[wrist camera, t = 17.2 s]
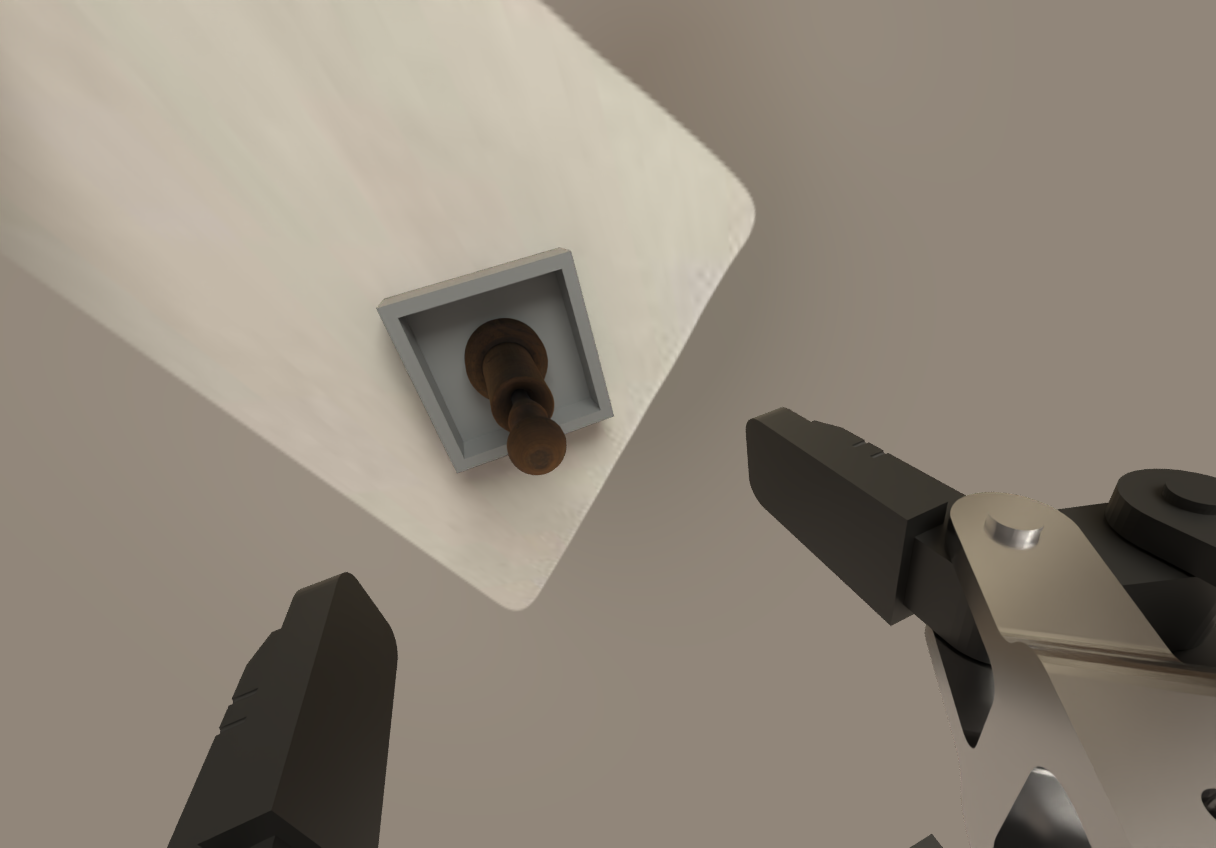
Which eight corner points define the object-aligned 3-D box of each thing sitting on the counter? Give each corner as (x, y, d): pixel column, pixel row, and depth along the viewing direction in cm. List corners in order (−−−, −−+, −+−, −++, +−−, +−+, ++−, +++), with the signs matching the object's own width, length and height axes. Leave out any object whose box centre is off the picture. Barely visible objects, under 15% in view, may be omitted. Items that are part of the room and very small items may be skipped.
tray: (456, 451, 40) (457, 473, 37) (384, 298, 34) (376, 308, 30) (601, 399, 42) (614, 416, 39) (559, 247, 36) (571, 250, 32)
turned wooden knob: (538, 397, 40) (592, 514, 24) (461, 391, 37) (466, 516, 22) (548, 323, 37) (616, 399, 22) (467, 311, 35) (477, 388, 19)
